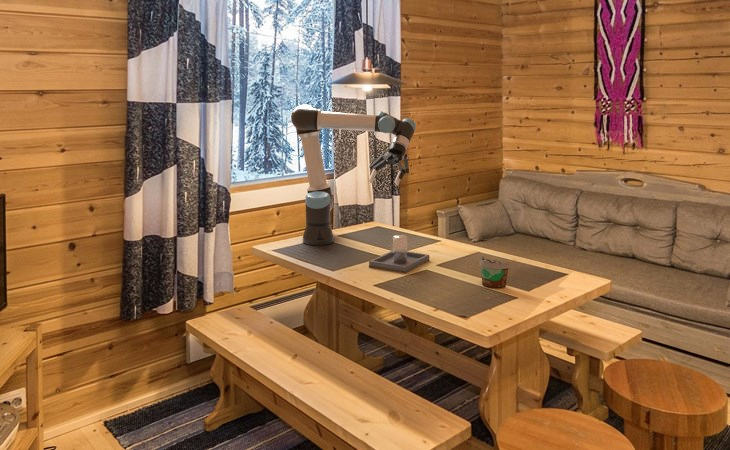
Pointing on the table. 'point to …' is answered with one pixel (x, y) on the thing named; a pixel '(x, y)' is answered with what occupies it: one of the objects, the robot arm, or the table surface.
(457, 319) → the table surface
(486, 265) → the food container
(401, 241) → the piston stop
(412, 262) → the slate tray
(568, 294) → the table surface
